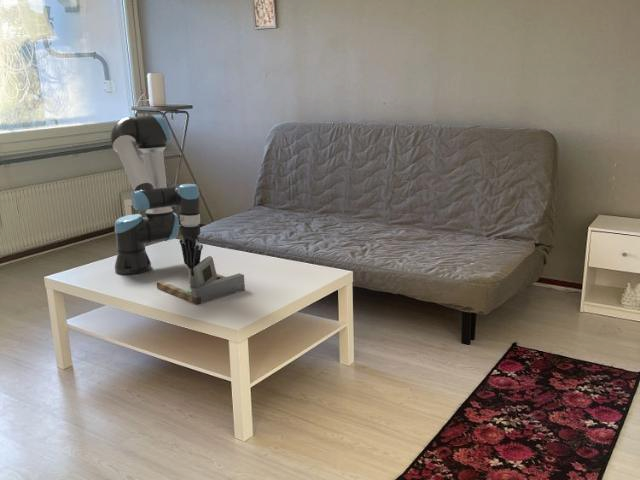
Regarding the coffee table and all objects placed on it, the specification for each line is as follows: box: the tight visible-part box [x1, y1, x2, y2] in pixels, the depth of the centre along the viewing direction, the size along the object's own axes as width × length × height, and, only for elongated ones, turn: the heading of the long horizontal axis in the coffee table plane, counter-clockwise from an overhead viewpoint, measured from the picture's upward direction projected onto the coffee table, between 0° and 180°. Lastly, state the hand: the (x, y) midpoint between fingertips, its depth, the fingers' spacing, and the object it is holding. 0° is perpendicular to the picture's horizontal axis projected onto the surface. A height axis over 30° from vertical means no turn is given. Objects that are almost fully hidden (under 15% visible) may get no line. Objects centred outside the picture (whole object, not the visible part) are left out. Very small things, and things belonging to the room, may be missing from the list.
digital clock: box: [189, 255, 218, 290], centre depth 247 cm, size 16×9×11 cm, turn 157°
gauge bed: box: [156, 273, 246, 305], centre depth 247 cm, size 28×22×3 cm
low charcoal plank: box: [190, 272, 246, 305], centre depth 238 cm, size 3×22×6 cm, turn 134°
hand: (192, 282), depth 250 cm, fingers closed
